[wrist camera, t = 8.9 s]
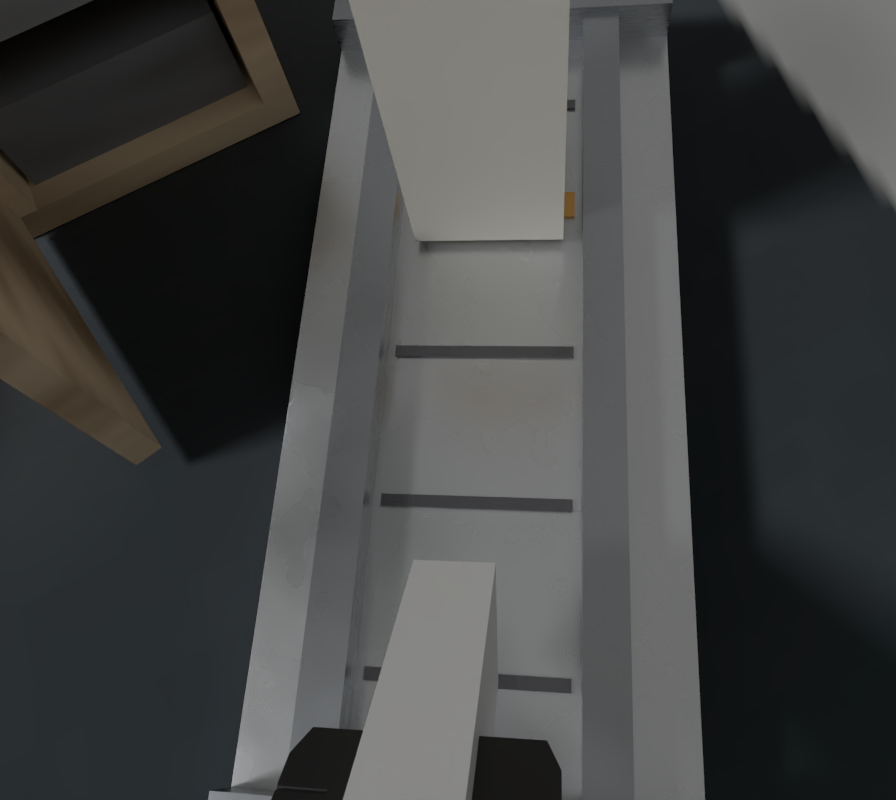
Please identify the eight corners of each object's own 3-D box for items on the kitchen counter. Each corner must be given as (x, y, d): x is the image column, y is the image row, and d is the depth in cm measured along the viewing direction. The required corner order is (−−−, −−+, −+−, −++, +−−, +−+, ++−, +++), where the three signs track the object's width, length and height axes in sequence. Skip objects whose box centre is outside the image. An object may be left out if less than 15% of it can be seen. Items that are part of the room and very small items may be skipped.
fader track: (693, 894, 17) (722, 928, 14) (252, 851, 19) (195, 875, 16) (656, 50, 26) (670, -35, 23) (360, 62, 28) (337, -17, 25)
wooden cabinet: (-44, 52, 30) (-386, -337, 19) (205, -60, 31) (14, -496, 20) (96, 503, 22) (-342, 288, 11) (425, 340, 23) (312, -11, 12)
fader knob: (574, 248, 21) (595, -149, 11) (403, 250, 22) (288, -126, 12) (575, 111, 23) (593, -334, 13) (417, 116, 23) (324, -306, 14)
